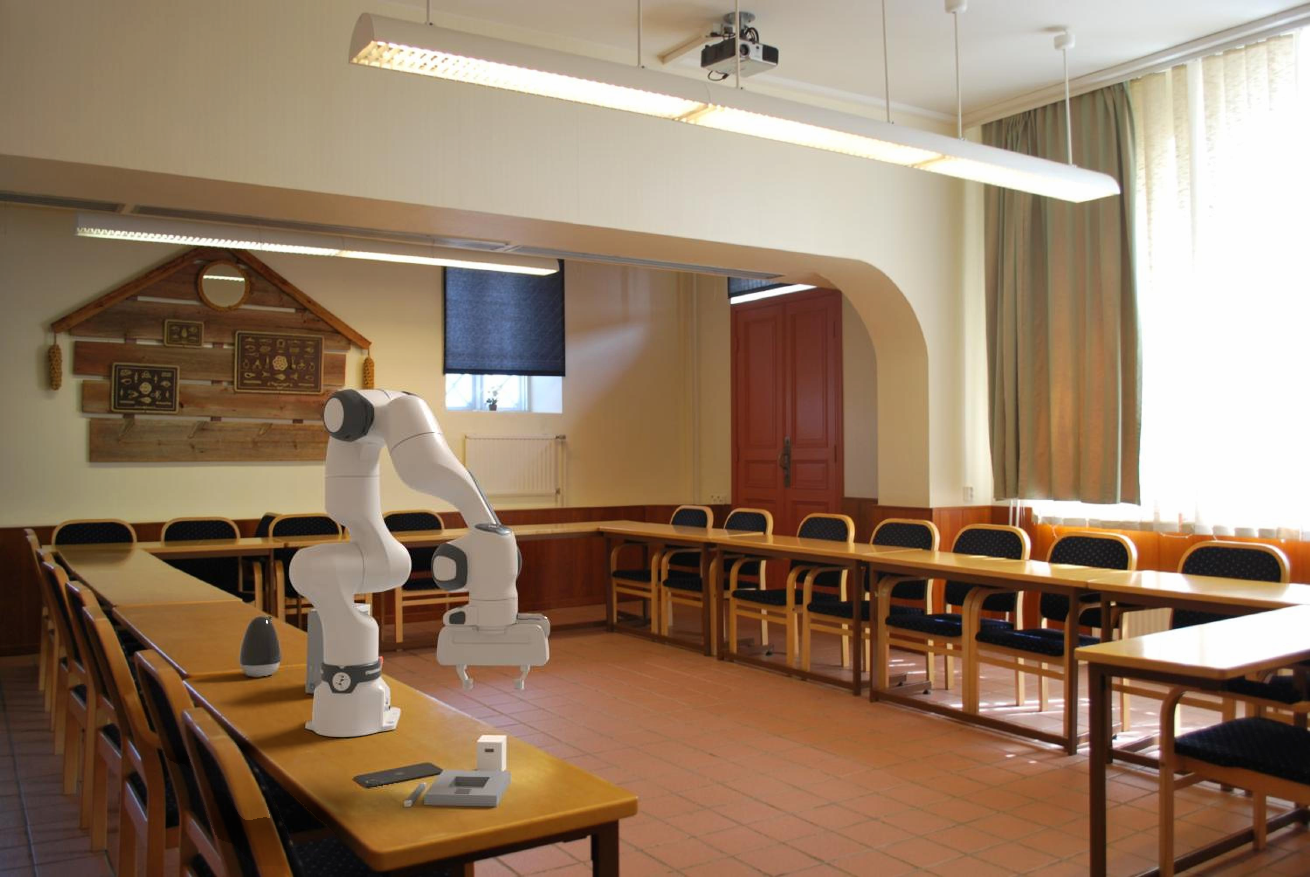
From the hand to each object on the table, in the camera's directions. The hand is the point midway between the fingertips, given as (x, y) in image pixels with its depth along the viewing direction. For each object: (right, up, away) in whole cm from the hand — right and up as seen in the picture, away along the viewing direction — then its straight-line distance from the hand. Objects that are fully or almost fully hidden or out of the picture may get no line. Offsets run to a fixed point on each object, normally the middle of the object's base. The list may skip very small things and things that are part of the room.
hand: (493, 689), depth 190 cm
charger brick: (0, -15, 0) cm, 15 cm away
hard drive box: (-48, -16, +65) cm, 82 cm away
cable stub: (-11, -15, -14) cm, 23 cm away
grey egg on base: (-72, -15, +79) cm, 108 cm away
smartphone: (-16, -15, -3) cm, 23 cm away
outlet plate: (-2, -15, -12) cm, 19 cm away
